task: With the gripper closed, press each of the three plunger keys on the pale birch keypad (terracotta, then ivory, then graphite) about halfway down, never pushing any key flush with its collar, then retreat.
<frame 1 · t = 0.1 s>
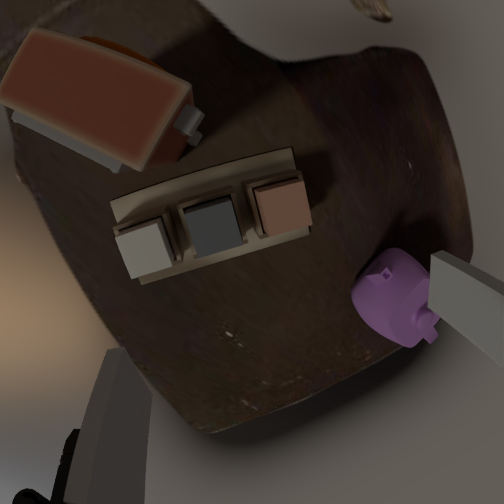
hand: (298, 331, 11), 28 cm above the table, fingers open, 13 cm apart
keypad board: (211, 216, 37), on the table
graphite key: (213, 225, 32), point 5 cm above the table, slide at 0.0 cm
terracotta and grey box: (144, 124, 31), on the table
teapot: (379, 282, 45), on the table
ivory key: (146, 246, 31), point 5 cm above the table, slide at 0.0 cm
terracotta key: (281, 205, 33), point 5 cm above the table, slide at 0.0 cm
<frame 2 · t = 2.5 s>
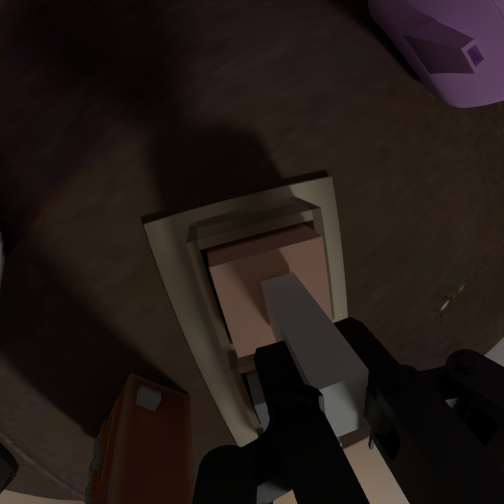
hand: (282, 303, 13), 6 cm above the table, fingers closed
keypad board: (275, 350, 22), on the table
graphite key: (294, 395, 17), point 5 cm above the table, slide at 0.0 cm
terracotta and grey box: (139, 420, 22), on the table
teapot: (420, 34, 15), on the table
ivory key: (305, 449, 20), point 5 cm above the table, slide at 0.0 cm
terracotta key: (268, 283, 15), point 4 cm above the table, slide at 0.8 cm, touching gripper
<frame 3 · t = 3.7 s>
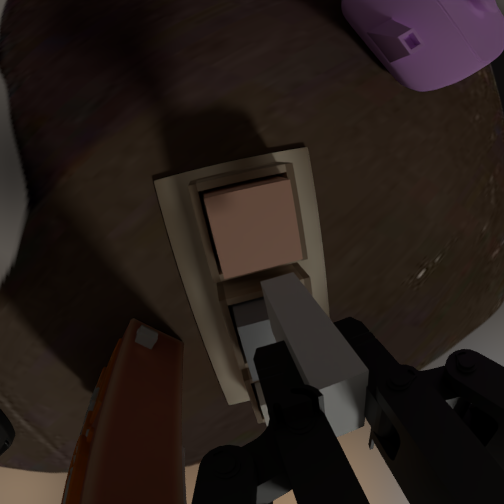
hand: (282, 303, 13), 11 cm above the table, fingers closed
keypad board: (261, 299, 25), on the table
graphite key: (274, 331, 21), point 5 cm above the table, slide at 0.0 cm
terracotta and grey box: (136, 370, 26), on the table
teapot: (391, 32, 19), on the table
ivory key: (288, 398, 23), point 5 cm above the table, slide at 0.0 cm
terracotta key: (250, 222, 19), point 4 cm above the table, slide at 1.0 cm
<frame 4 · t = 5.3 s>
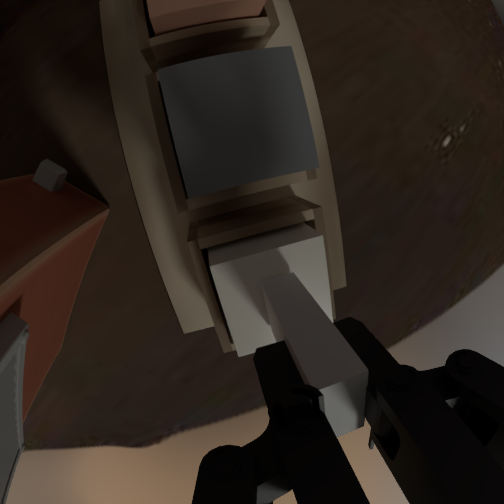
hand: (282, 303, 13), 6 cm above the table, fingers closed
keypad board: (224, 131, 16), on the table
graphite key: (234, 121, 11), point 5 cm above the table, slide at 0.0 cm
terracotta and grey box: (51, 268, 17), on the table
ivory key: (268, 282, 15), point 4 cm above the table, slide at 0.9 cm, touching gripper
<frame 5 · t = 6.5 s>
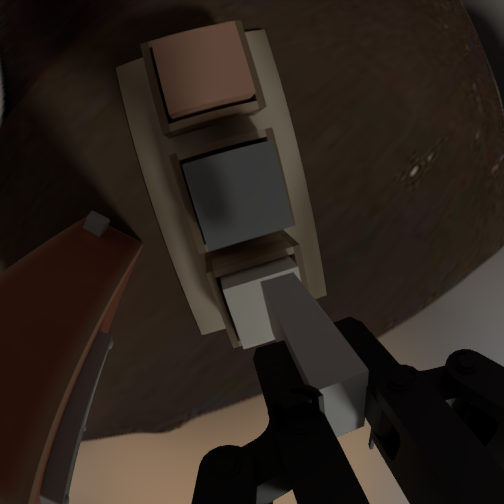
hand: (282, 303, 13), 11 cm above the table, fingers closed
keypad board: (228, 184, 22), on the table
graphite key: (235, 191, 17), point 5 cm above the table, slide at 0.0 cm
terracotta and grey box: (94, 289, 23), on the table
ivory key: (263, 297, 21), point 4 cm above the table, slide at 1.0 cm
terracotta key: (201, 73, 15), point 4 cm above the table, slide at 1.0 cm
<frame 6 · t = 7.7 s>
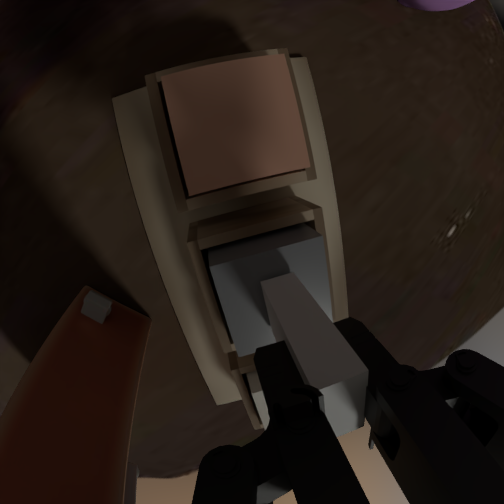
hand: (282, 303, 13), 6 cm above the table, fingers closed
keypad board: (254, 256, 19), on the table
graphite key: (268, 283, 15), point 4 cm above the table, slide at 0.9 cm, touching gripper
terracotta and grey box: (97, 359, 19), on the table
ivory key: (290, 385, 18), point 4 cm above the table, slide at 1.0 cm
terracotta key: (231, 124, 12), point 4 cm above the table, slide at 1.0 cm
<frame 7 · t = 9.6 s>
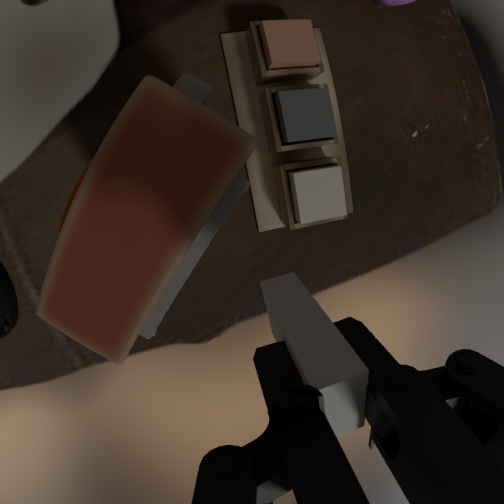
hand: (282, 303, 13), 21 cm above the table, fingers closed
keypad board: (291, 120, 30), on the table
graphite key: (302, 116, 26), point 4 cm above the table, slide at 1.0 cm
terracotta and grey box: (177, 187, 31), on the table
ivory key: (314, 192, 29), point 4 cm above the table, slide at 1.0 cm
terracotta key: (286, 46, 24), point 4 cm above the table, slide at 1.0 cm
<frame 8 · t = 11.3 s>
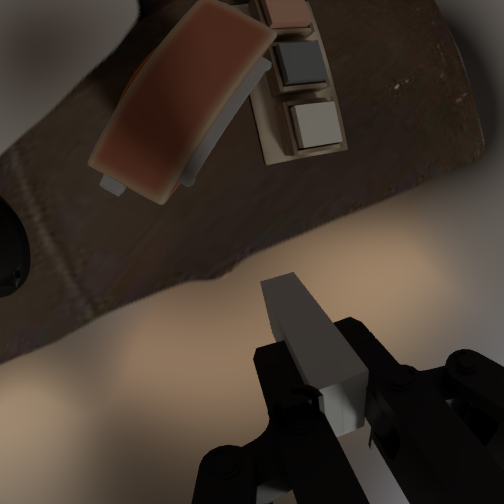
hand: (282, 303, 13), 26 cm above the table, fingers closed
keypad board: (289, 73, 33), on the table
graphite key: (298, 64, 29), point 4 cm above the table, slide at 1.0 cm
terracotta and grey box: (192, 127, 34), on the table
ivory key: (313, 125, 32), point 4 cm above the table, slide at 1.0 cm
terracotta key: (283, 12, 26), point 4 cm above the table, slide at 1.0 cm
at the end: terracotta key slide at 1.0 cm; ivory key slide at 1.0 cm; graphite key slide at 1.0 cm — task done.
